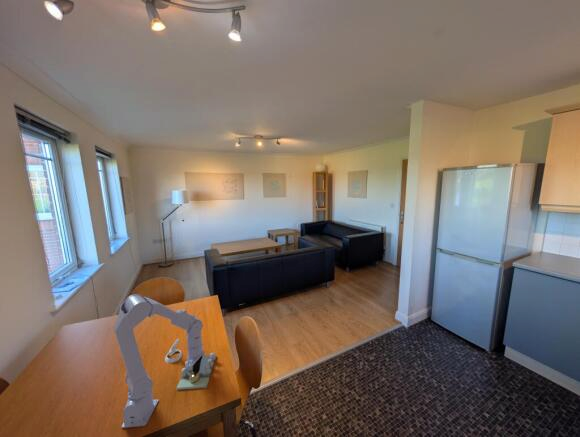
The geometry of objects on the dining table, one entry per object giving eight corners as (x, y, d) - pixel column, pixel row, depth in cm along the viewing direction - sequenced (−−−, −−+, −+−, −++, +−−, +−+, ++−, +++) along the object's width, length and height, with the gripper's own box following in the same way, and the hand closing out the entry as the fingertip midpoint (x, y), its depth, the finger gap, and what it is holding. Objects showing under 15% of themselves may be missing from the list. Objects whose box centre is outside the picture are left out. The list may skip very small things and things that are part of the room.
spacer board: (206, 387, 92) (205, 379, 91) (176, 390, 90) (175, 381, 90) (216, 356, 108) (215, 349, 108) (191, 358, 107) (190, 351, 107)
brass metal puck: (198, 382, 93) (198, 378, 92) (188, 384, 92) (188, 379, 92) (200, 374, 97) (200, 370, 96) (191, 376, 96) (190, 372, 96)
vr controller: (186, 353, 104) (172, 348, 102) (174, 369, 106) (160, 364, 104) (191, 339, 111) (178, 334, 109) (180, 355, 113) (167, 350, 111)
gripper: (198, 355, 89) (200, 385, 90) (208, 332, 103) (210, 358, 105) (180, 357, 88) (183, 387, 90) (193, 333, 102) (195, 359, 104)
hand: (196, 371), depth 97 cm, fingers closed
